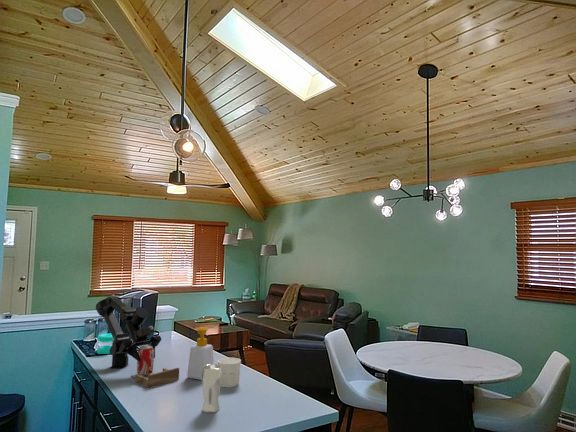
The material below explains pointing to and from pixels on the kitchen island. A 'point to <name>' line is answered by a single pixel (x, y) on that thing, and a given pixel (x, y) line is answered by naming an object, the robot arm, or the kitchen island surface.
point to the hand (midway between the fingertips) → (147, 359)
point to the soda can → (145, 360)
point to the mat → (141, 375)
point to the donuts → (104, 338)
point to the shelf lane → (159, 378)
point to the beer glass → (211, 387)
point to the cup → (229, 371)
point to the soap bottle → (200, 355)
